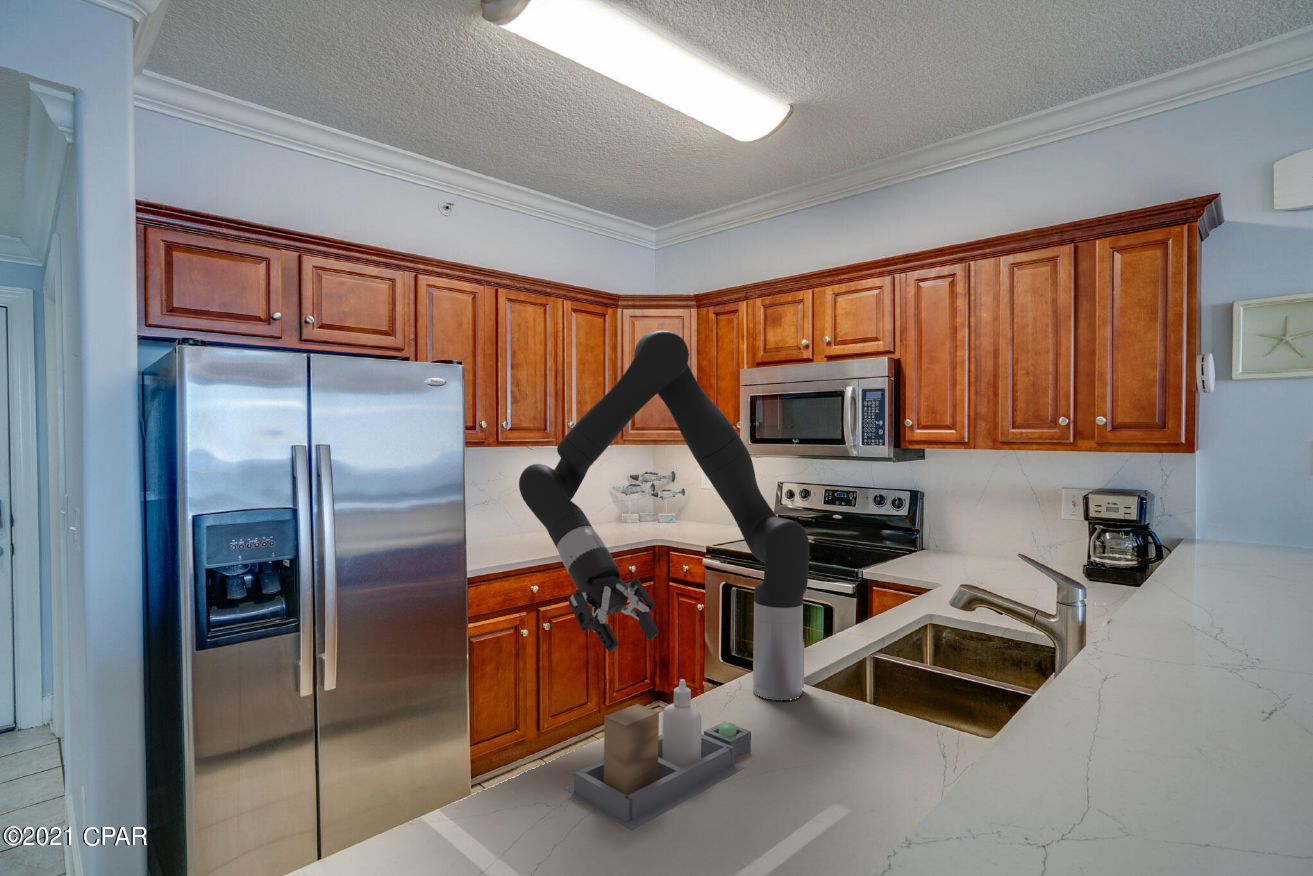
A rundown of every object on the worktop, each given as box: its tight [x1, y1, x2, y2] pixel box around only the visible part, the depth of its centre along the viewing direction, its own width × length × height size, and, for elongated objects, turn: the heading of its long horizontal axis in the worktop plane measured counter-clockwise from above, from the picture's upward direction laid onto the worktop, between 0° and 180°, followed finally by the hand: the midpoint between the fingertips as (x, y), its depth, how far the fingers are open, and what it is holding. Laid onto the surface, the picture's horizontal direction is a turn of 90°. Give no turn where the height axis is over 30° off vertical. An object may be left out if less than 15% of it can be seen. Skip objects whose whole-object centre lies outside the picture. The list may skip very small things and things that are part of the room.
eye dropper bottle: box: [662, 678, 702, 768], centre depth 94 cm, size 4×6×12 cm
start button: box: [718, 721, 737, 738], centre depth 100 cm, size 3×3×3 cm
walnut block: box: [603, 703, 660, 796], centre depth 87 cm, size 6×4×10 cm, turn 136°
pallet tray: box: [563, 733, 745, 831], centre depth 91 cm, size 22×13×4 cm, turn 136°
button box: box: [703, 721, 752, 758], centre depth 100 cm, size 5×5×4 cm
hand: (634, 642), depth 103 cm, fingers open, 8 cm apart
